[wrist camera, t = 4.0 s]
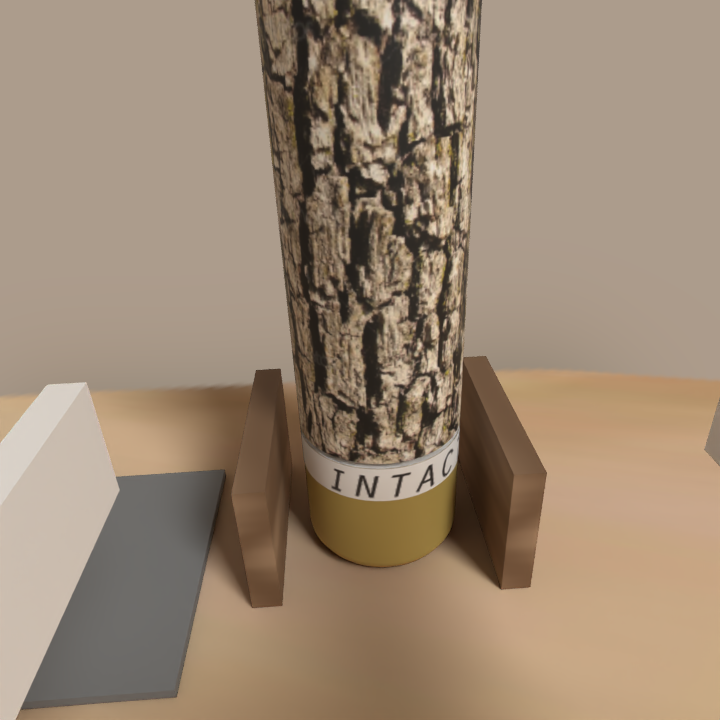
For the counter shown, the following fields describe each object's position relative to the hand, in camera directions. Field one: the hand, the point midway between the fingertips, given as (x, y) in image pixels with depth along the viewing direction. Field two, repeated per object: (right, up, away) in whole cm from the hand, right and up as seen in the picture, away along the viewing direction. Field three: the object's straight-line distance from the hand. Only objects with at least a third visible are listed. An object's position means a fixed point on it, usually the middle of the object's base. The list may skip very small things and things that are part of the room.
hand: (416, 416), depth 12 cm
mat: (-14, -8, +14) cm, 21 cm away
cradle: (0, -6, +16) cm, 17 cm away
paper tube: (0, -7, +16) cm, 17 cm away
